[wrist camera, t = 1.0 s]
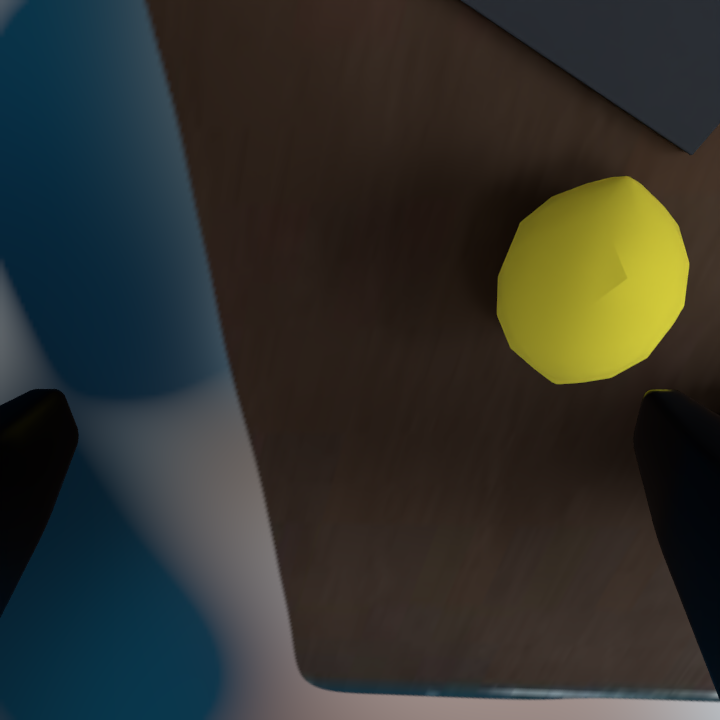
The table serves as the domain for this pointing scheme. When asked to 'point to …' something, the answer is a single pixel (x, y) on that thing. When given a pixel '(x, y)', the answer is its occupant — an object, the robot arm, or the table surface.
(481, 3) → the desk mat
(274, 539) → the table surface
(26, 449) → the robot arm
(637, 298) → the lemon
